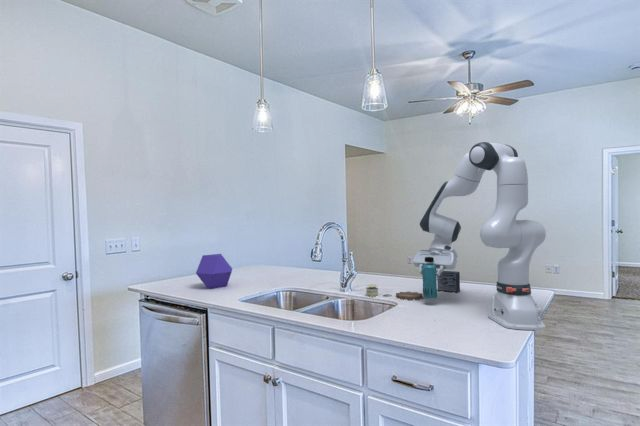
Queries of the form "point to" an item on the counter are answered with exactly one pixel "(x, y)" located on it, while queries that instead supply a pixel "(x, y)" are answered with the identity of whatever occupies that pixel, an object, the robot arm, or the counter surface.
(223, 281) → the purple faceted block
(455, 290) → the small box
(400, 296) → the gear plate
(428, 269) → the beverage bottle
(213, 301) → the counter surface
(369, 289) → the stacked layers on plate
